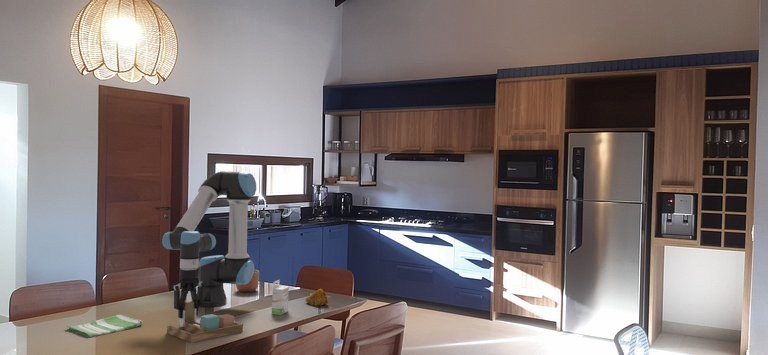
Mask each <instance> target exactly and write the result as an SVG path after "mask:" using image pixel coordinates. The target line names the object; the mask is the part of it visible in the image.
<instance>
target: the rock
mask: <svg viewBox="0 0 768 355" xmlns="http://www.w3.org/2000/svg"><path fill="white" fill-rule="evenodd" d="M305 302H306V303H308V304H309V305H311V306H315V307H319V306H320V307H321V306H323V305H327V304H328V302H329V301H328V296H327V294H326V292H325V291H324V290H323V289H322V288H318V289H317V290H316V291H314V292H313V293H311V294H310V295H309V296H307V297H306V298H305Z"/></svg>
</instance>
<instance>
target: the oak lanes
mask: <svg viewBox="0 0 768 355" xmlns="http://www.w3.org/2000/svg"><path fill="white" fill-rule="evenodd" d="M199 323H200V324H201V318H200V319H199ZM243 329H244V325H243V324H242V323H240V322H236V321H234V325H233V326H228V327H224V326H221V325H219V329H214V330H207V329H204V328H202V327H201V325H197V324H190V323H187V322H184V327H183V329H180V328H178V327H176V326H172V325H167V326H166V334H168V335H171V336H173V337H176V338H178V339H181V340H183V341H186V342H188V343H197V342H201V341H205V340H211V339H216V338H219V337H223V336H224V337H225V336H228V335H229V336H230V335H233V334H238V333H239V334H240V333H242V332H243V331H244V330H243Z"/></svg>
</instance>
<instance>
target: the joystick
mask: <svg viewBox="0 0 768 355" xmlns="http://www.w3.org/2000/svg"><path fill="white" fill-rule="evenodd" d="M183 310H185V322H187V323H190V324H193V323H195V324H193V325H197V326H200V325H201V327H202V328H204V329H207V330H214V329H219V315H216V314H213V313H211V314H205V315H200V319H201V324H200V322H197V321H196V322H194V301H192V300H186V301H185V305H184V309H183ZM181 327H182V328H184V326H181Z"/></svg>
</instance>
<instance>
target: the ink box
mask: <svg viewBox="0 0 768 355" xmlns="http://www.w3.org/2000/svg"><path fill="white" fill-rule="evenodd" d="M280 281H281V280H280V279H278V280H275V281H273V283H272V291H271V292H272V296H271V297H272V298H271V315H276V316H282V315H284V314H286V313H287V312H288V311H289V310H288V309H289V289H290V286H287V285H286V286H285V285H280Z"/></svg>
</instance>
